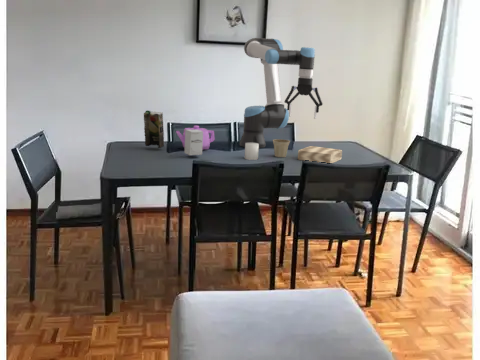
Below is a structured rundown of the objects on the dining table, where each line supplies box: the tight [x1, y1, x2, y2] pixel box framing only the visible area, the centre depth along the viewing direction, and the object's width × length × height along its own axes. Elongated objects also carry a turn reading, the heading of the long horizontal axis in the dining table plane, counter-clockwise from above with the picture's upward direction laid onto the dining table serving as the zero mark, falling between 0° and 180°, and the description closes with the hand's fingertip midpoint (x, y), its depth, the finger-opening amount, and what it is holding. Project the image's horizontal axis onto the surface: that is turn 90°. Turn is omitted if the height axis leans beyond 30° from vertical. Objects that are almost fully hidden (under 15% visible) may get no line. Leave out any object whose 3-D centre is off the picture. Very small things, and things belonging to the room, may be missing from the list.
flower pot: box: [272, 138, 291, 158], centre depth 306 cm, size 9×9×9 cm
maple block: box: [297, 145, 343, 164], centre depth 305 cm, size 18×18×5 cm
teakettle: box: [175, 125, 215, 150], centre depth 320 cm, size 17×17×12 cm
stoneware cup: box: [244, 142, 260, 161], centre depth 296 cm, size 7×7×8 cm
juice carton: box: [143, 110, 165, 149], centre depth 314 cm, size 20×10×6 cm
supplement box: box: [184, 130, 203, 156], centre depth 300 cm, size 7×7×13 cm
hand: (302, 117), depth 306 cm, fingers open, 13 cm apart
